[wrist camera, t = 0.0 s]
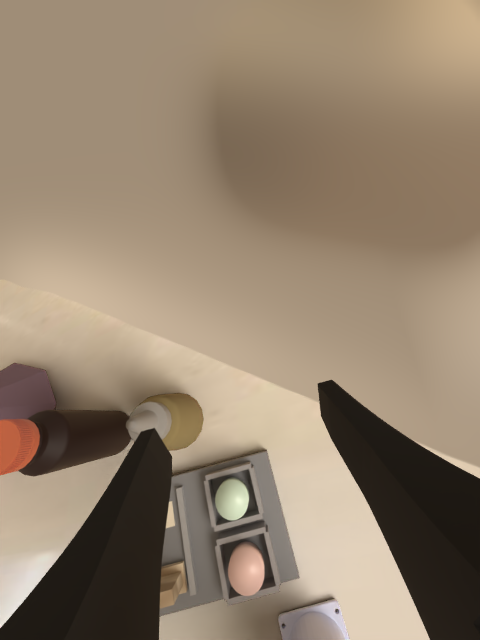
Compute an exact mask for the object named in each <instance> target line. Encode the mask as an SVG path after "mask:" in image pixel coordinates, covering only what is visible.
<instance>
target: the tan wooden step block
mask: <svg viewBox="0 0 480 640" xmlns="http://www.w3.org/2000/svg"><path fill="white" fill-rule="evenodd" d="M187 590H188V588H187V580H186V573H185V565H184V561H181V562H177V563H173V564H170V565H166V566H163V567H161V587H160V608H164V607H168V606H171V605H174V603H175V601H176V599H177V597H178V595H179V594H182V593H186V592H187Z"/></svg>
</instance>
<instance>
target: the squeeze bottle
mask: <svg viewBox="0 0 480 640" xmlns="http://www.w3.org/2000/svg"><path fill="white" fill-rule="evenodd" d="M202 425H203V414H202V409H201V407H200V405H199V404H198V402H197V400H195V399H194V398H192V397H191V396H189V395H187V394H181V393H174V394H163V395H156V396H152V397H149V398H147V399H146V400H145V401H143V402H142V403H140V405H139V406H138V407H136V408H135V409H134V411H133V412H132V414H131V415H130V418H129V420H128V421H127V422H126V428H127V429H128V432H129V434H130V436H131V439H132V440H133V441H136V439H137V437H138V436H139V434H140V432H141V431H145V430H148V429H152V428H155V429H156V431H157V432H158V434H159V436H160V437H161V439H162V441H163V442H164V444H165V446H166V447H167V449H168V451H170V450H178V449H182V448H186V447H188V446H189V445H190V444H192V443H193V442H194V441H195V440H196V439H197V437H198V435H199V434H200V432H201V430H202Z"/></svg>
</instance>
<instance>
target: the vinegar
mask: <svg viewBox="0 0 480 640" xmlns="http://www.w3.org/2000/svg"><path fill="white" fill-rule="evenodd" d="M128 420H129V417H128V416H127V415H126V414H125V413H123V412H120V411H93V410H45V411H41V412H38V413H36V414H34V415H32V416H30V417H29V418H28V419H3V420H0V475H3V474H7V473H11V472H15V471H19V472H21V473H22V474H24V475H29V476H38V475H43V474H47V473H50V472H54V471H58V470H61V469H65V468H68V467H72V466H76V465H79V464H83V463H86V462H90V461H94V460H97V459H101V458H104V457H108V456H112V455H115V454H118V453H119V452H121V451H122V450H123V449H124V448H125V447H126V446H127V445H128V444H129V442H130V440H131V436H130V434H129V432H128V429H127V428H126V422H127V421H128Z"/></svg>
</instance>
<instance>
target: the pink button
mask: <svg viewBox="0 0 480 640" xmlns="http://www.w3.org/2000/svg"><path fill="white" fill-rule="evenodd" d="M228 577H229V581H230V583H231V585H232V587H233V588H234V590H235V591H236V592H237V593H239V594H241V595H243V596H251V595H253V594H255V593H256V592H258V591H259V589H260V588H261V586H262V584H263V581H264V558H263V555H262V552H261V550H260V549H259V548H258V546H256V545H255V544H254V543H252V542H248V541H245V542H241V543H239V544H238V545H237V546H236V547H235V548H234V549H233V551H232V554H231V557H230V562H229V566H228Z"/></svg>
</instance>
